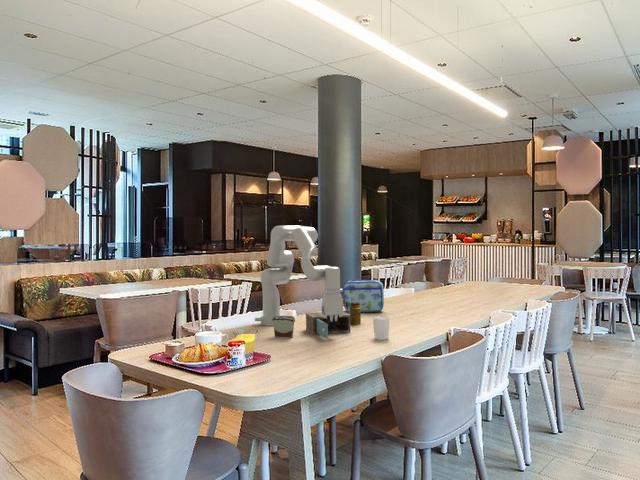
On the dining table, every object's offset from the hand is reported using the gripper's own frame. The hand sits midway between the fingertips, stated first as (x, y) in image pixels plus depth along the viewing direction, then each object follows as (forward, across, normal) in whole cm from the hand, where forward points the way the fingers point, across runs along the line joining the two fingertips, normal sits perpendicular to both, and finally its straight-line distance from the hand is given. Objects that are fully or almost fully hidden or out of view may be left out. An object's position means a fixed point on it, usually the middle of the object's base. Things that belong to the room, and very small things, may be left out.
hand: (332, 328), depth 257 cm
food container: (+5, +20, -13) cm, 24 cm away
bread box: (+4, -4, -16) cm, 17 cm away
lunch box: (+5, -49, -66) cm, 82 cm away
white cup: (+4, -21, +12) cm, 24 cm away
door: (+3, +6, -2) cm, 7 cm away
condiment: (+5, -25, -29) cm, 39 cm away
